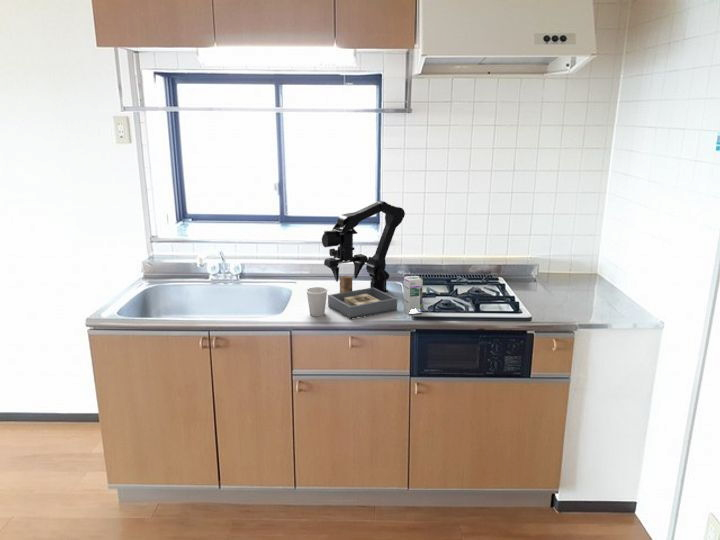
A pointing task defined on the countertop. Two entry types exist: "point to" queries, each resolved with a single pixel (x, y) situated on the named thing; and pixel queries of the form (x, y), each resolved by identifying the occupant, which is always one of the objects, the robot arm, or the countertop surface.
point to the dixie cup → (317, 300)
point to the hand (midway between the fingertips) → (346, 279)
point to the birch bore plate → (360, 299)
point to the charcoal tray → (383, 306)
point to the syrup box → (412, 293)
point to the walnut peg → (345, 284)
